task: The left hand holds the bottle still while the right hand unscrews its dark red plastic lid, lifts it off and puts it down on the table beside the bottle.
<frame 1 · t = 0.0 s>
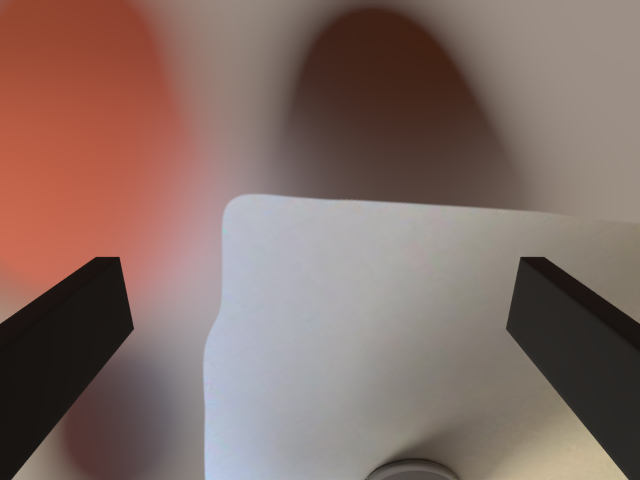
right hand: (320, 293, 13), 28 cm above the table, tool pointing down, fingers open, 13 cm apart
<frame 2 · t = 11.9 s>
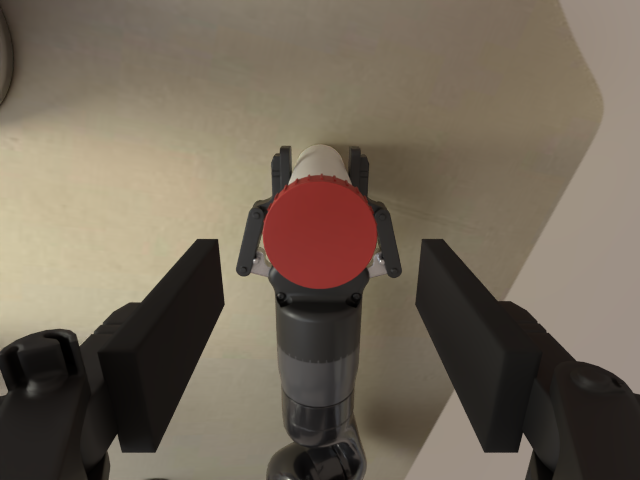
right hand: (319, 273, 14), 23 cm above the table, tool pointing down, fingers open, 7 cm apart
left hand: (319, 148, 28), fingers closed on bottle, 4 cm apart
bottle: (319, 168, 35), on the table, touching left hand
lid: (320, 235, 18), point 19 cm above the table, screwed on, not yet turned
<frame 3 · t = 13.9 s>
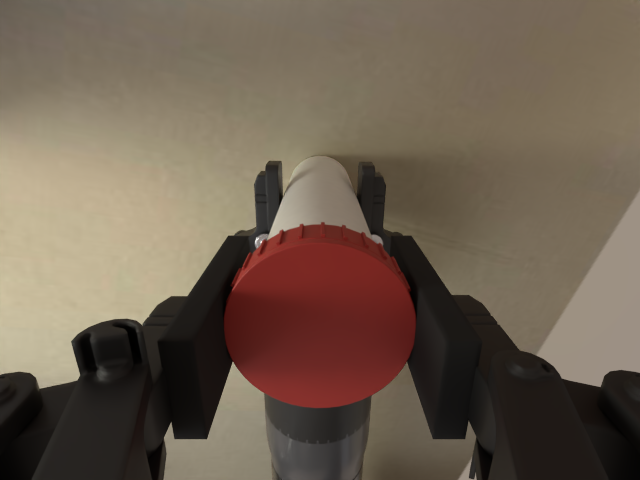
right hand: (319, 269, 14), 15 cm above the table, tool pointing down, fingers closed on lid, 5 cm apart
bottle: (319, 186, 28), on the table, touching left hand
lid: (319, 326, 11), point 19 cm above the table, screwed on, not yet turned, touching right hand
when the right hand's fingers open (15 cm above the table, at t = 15.3 s): lid stays where it is, point 19 cm above the table.
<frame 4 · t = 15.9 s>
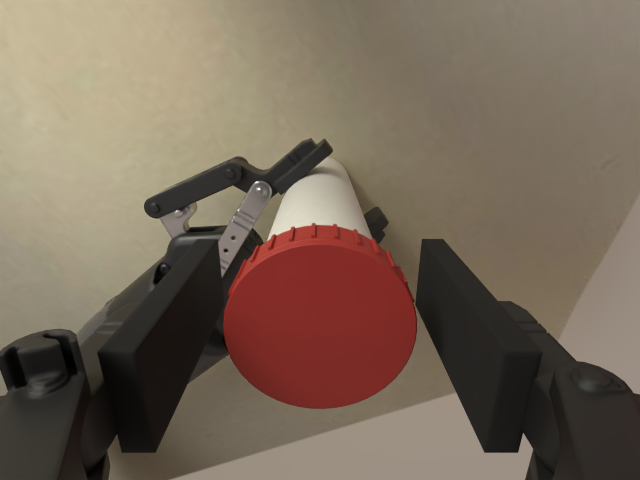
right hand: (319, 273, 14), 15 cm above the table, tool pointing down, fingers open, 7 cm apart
bottle: (319, 185, 28), on the table, touching left hand
lid: (320, 326, 11), point 19 cm above the table, turned 107° so far, risen 0.2 cm, still on its thread
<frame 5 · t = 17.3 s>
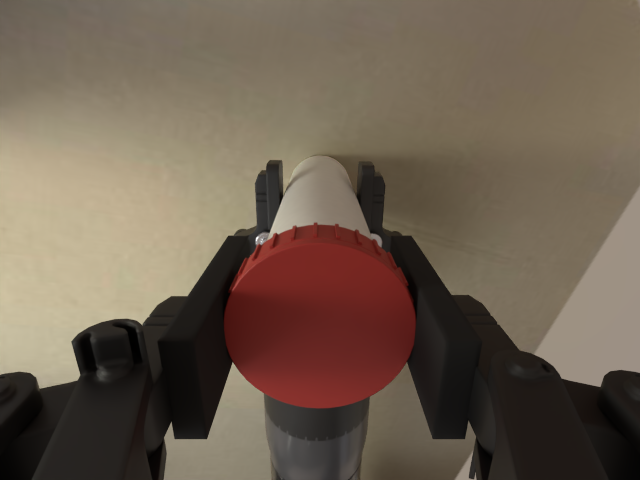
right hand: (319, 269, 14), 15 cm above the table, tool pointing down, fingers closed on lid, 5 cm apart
bottle: (319, 185, 28), on the table, touching left hand
lid: (319, 326, 11), point 19 cm above the table, turned 107° so far, risen 0.2 cm, still on its thread, touching right hand
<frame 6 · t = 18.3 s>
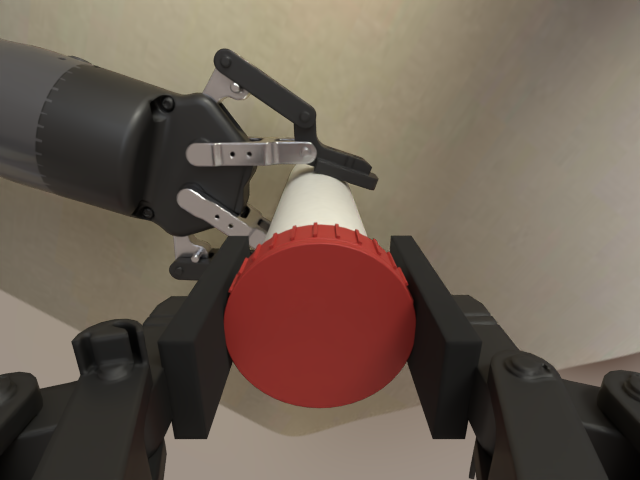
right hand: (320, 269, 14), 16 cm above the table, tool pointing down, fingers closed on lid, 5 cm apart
left hand: (358, 220, 23), fingers closed on bottle, 4 cm apart
bottle: (317, 185, 29), on the table, touching left hand
lid: (319, 326, 11), point 20 cm above the table, off its thread, touching right hand
when the right hand's fingers open (0 cm above the table, at t = 25.1 s): lid drops 3 cm, point 1 cm above the table.
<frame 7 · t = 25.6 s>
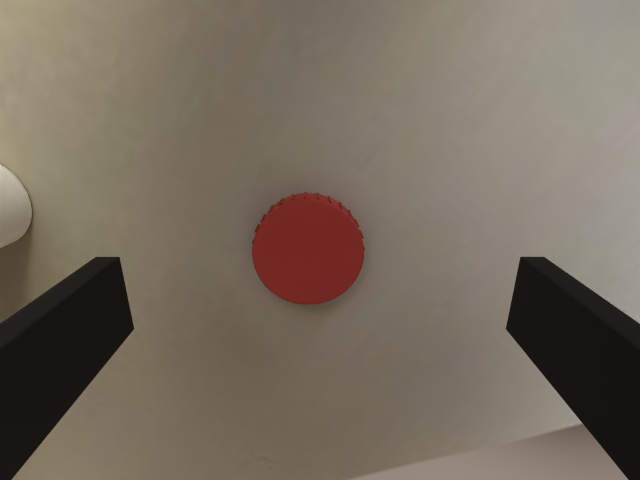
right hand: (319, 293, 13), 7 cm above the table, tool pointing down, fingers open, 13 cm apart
lid: (308, 252, 18), point 1 cm above the table, off its thread
when the left hand's fingers open (7 cm above the table, at t = 25.7 s): bottle stays where it is, on the table.
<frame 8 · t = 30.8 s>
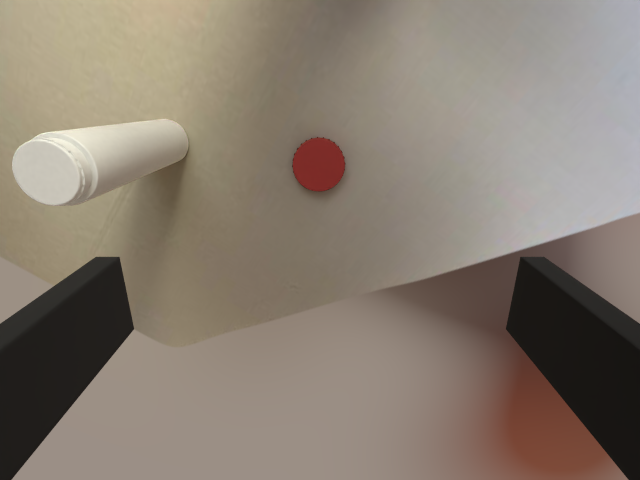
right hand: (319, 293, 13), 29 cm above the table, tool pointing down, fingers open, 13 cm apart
bottle: (167, 141, 39), on the table
lid: (318, 165, 39), point 1 cm above the table, off its thread
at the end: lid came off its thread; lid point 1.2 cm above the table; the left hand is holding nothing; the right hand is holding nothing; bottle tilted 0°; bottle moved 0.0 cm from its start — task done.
